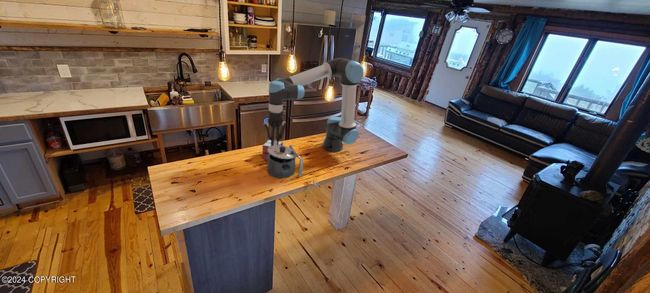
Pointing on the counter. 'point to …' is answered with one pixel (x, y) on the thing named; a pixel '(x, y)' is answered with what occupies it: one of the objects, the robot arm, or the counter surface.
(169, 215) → the counter surface
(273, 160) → the pot
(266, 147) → the puzzle cube
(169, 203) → the counter surface
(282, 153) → the lid
